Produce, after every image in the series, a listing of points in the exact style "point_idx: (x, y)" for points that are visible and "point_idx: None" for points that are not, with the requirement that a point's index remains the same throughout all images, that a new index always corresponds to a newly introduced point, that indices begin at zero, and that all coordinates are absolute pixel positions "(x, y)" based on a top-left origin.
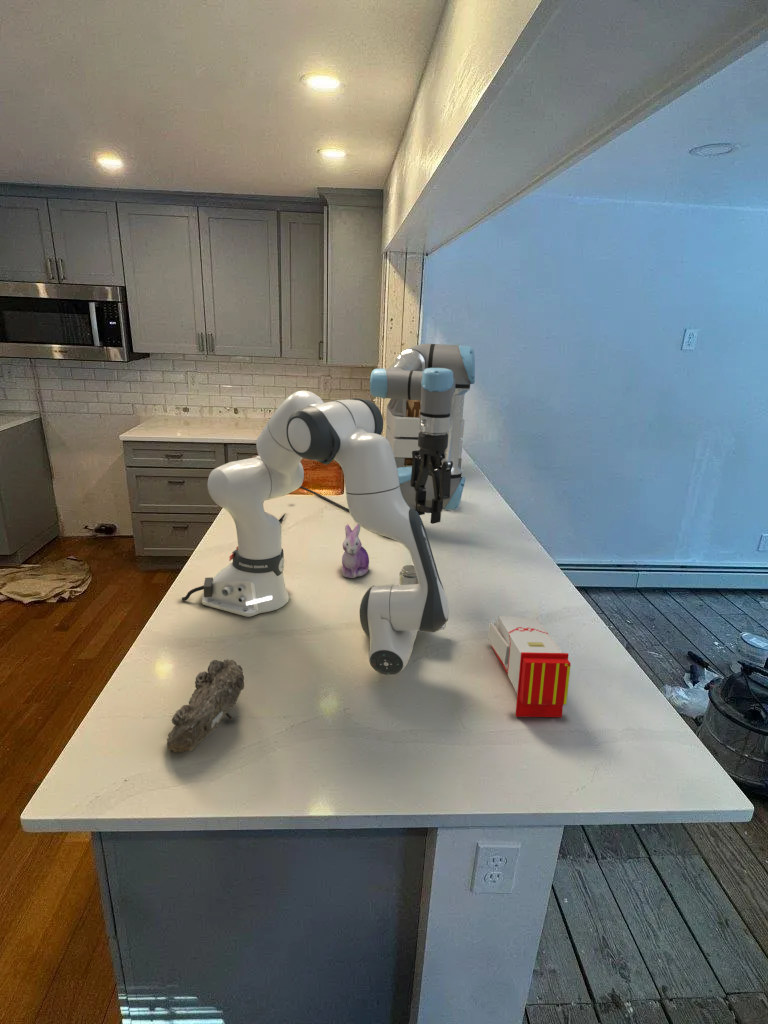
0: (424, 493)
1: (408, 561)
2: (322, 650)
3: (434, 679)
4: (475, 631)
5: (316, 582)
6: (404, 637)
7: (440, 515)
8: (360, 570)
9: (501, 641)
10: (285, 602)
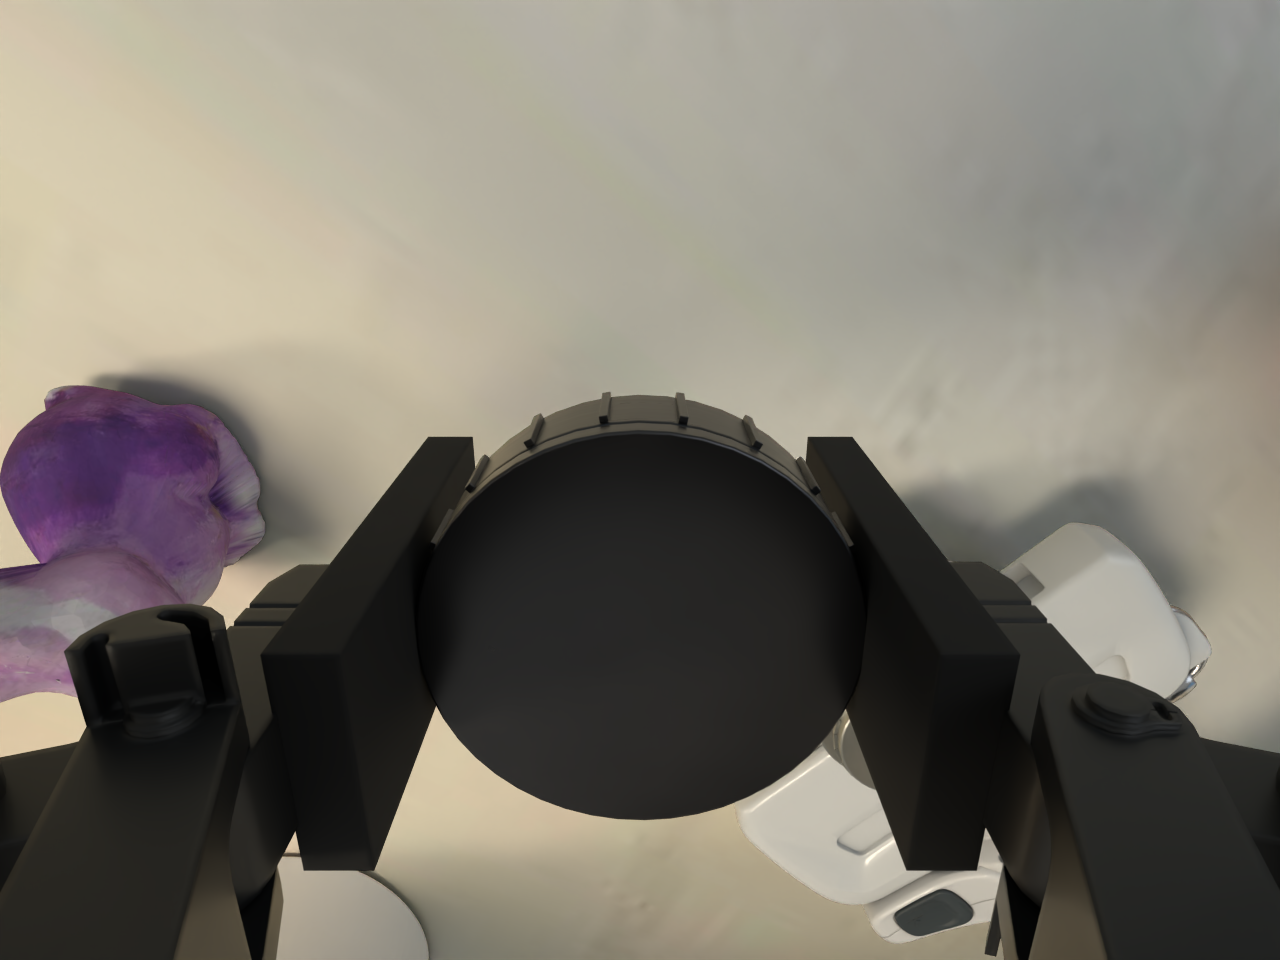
0: (365, 676)
1: (145, 34)
2: (790, 922)
3: (1226, 716)
4: (1133, 311)
5: None
6: None
7: (882, 483)
8: (230, 489)
9: None
10: (393, 902)
